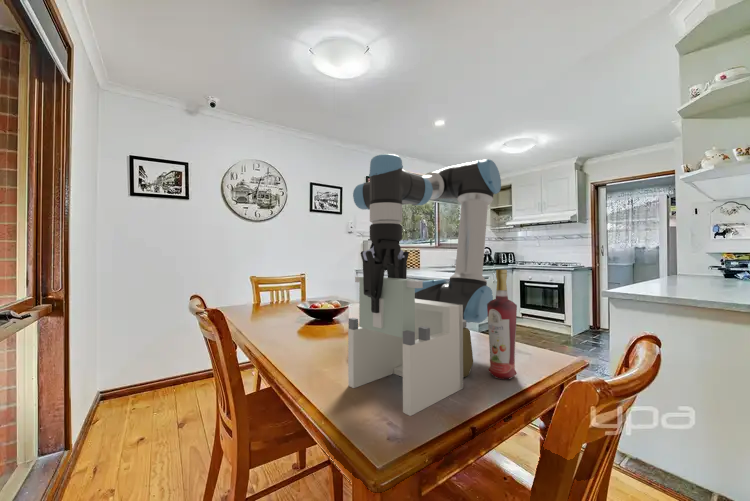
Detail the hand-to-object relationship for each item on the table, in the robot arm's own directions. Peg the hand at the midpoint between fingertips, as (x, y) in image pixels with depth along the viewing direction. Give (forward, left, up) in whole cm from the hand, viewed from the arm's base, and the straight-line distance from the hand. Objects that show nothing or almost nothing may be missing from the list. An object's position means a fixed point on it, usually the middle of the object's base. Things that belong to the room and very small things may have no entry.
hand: (385, 325), depth 73 cm
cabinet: (-7, 0, -16) cm, 17 cm away
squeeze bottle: (-23, +4, -16) cm, 29 cm away
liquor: (-30, +13, -16) cm, 37 cm away
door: (0, 0, -1) cm, 1 cm away
